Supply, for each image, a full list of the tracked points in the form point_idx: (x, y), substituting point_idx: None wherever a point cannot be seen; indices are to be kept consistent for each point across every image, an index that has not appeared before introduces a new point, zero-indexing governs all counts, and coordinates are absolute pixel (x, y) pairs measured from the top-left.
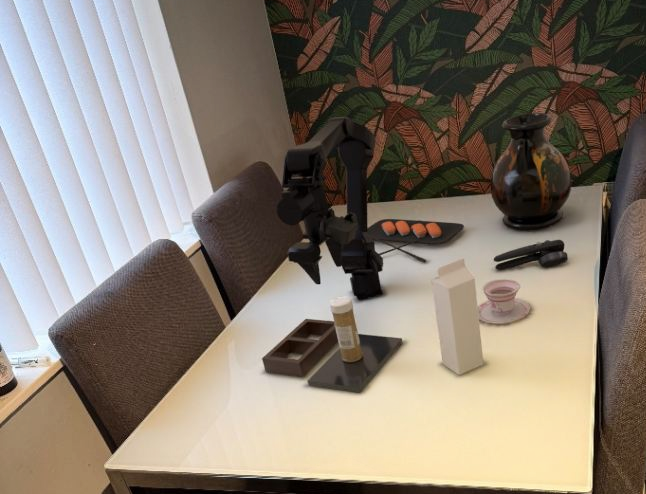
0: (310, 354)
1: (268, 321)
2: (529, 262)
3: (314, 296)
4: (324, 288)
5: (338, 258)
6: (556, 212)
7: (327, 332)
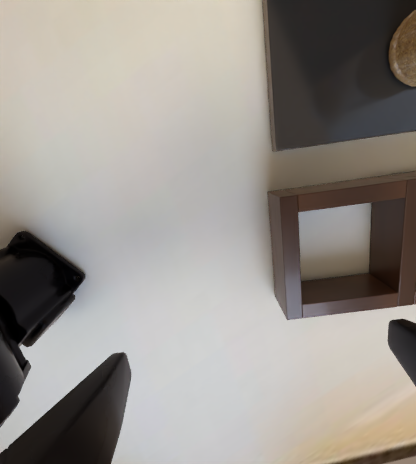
0: None
1: (255, 412)
2: None
3: None
4: None
5: (98, 409)
6: None
7: (355, 197)
